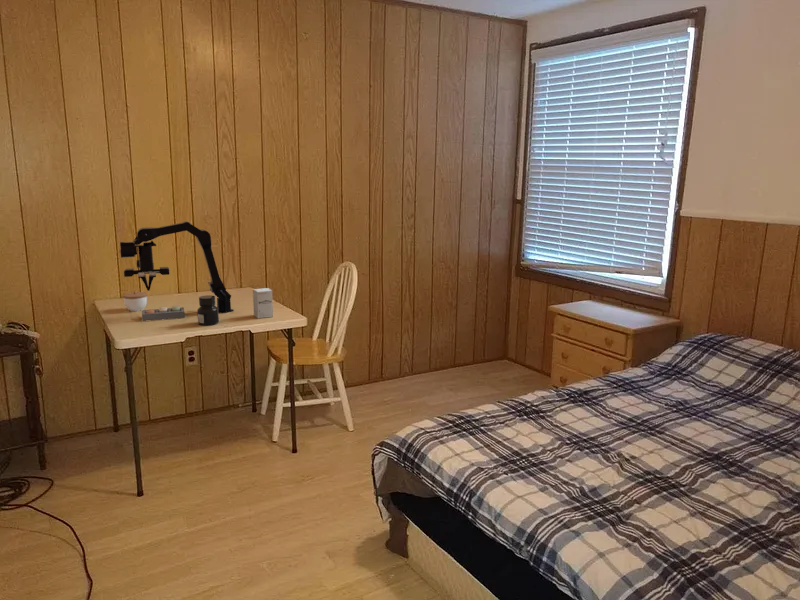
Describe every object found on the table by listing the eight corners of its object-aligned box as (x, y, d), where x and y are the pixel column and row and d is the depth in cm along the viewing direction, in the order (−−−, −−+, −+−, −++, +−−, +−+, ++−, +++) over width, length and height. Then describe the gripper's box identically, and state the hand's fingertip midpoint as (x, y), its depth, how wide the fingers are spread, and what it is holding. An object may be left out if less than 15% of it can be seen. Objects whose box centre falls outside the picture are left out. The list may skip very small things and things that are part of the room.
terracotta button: (155, 314, 281) (154, 309, 281) (154, 315, 278) (154, 311, 277) (146, 314, 280) (146, 310, 279) (146, 316, 276) (146, 312, 276)
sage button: (180, 310, 285) (179, 305, 284) (180, 311, 281) (180, 307, 281) (171, 310, 283) (171, 306, 283) (172, 312, 280) (171, 308, 280)
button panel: (184, 313, 288) (183, 307, 288) (184, 317, 280) (184, 311, 279) (143, 316, 282) (142, 310, 281) (142, 321, 274) (141, 314, 273)
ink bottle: (199, 321, 274) (197, 295, 272) (219, 320, 276) (218, 294, 274) (197, 326, 265) (195, 299, 263) (218, 325, 267) (216, 298, 265)
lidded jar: (133, 306, 301) (131, 288, 299) (152, 308, 298) (151, 289, 296) (119, 312, 290) (117, 292, 288) (139, 313, 288) (137, 293, 286)
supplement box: (257, 318, 279) (256, 291, 276) (253, 315, 286) (252, 288, 283) (273, 317, 282) (272, 290, 280) (269, 313, 289) (268, 287, 286)
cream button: (167, 310, 283) (167, 306, 282) (167, 312, 279) (167, 308, 279) (159, 311, 281) (158, 307, 281) (159, 313, 278) (158, 309, 278)
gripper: (167, 253, 283) (170, 286, 287) (124, 254, 277) (127, 288, 280) (168, 256, 273) (170, 290, 277) (122, 258, 267) (125, 293, 270)
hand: (148, 290), depth 276 cm, fingers closed
